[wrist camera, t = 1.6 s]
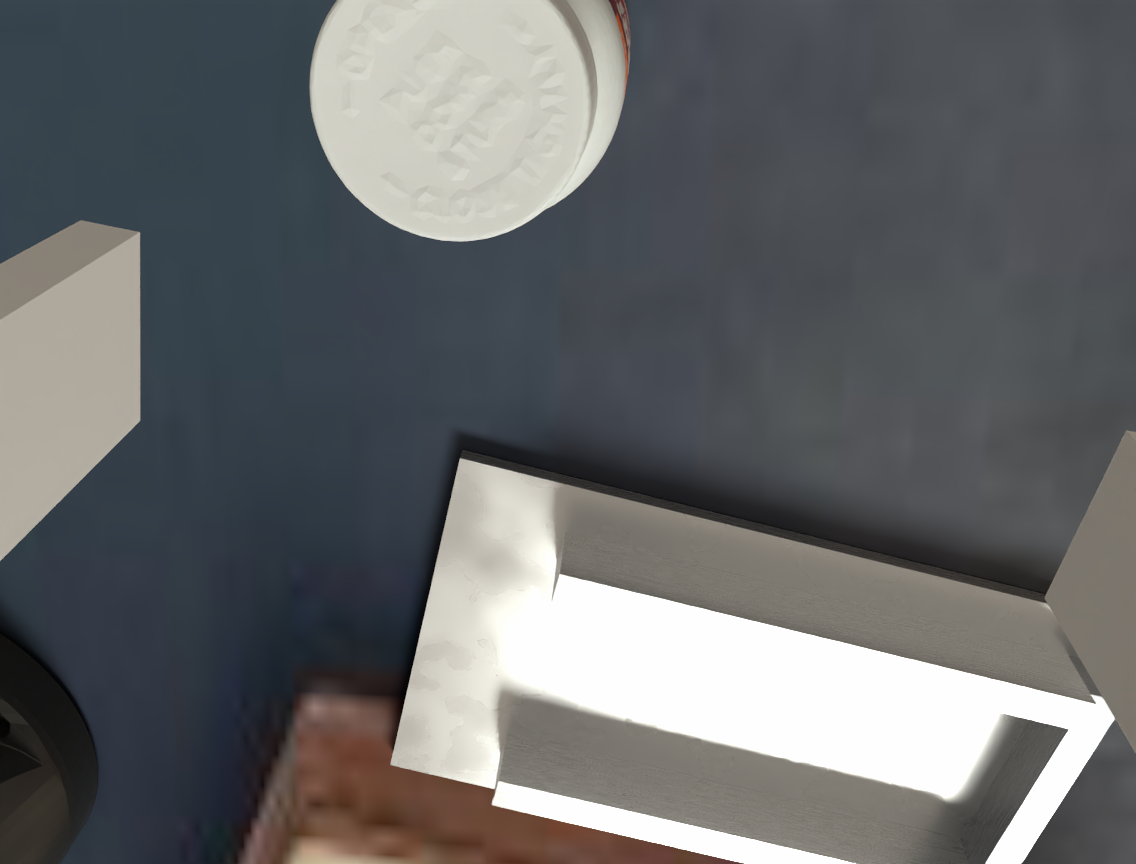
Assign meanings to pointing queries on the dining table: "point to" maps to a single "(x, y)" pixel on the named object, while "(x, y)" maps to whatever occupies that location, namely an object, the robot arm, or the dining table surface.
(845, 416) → the dining table surface
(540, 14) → the pill bottle
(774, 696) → the white shallow tray
